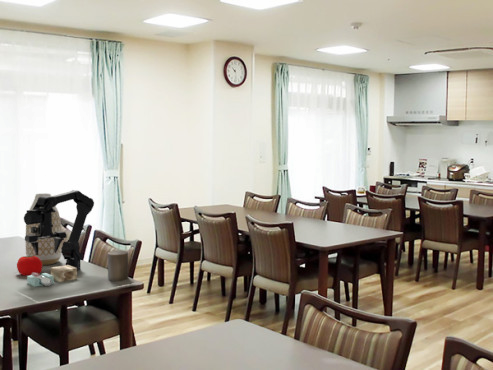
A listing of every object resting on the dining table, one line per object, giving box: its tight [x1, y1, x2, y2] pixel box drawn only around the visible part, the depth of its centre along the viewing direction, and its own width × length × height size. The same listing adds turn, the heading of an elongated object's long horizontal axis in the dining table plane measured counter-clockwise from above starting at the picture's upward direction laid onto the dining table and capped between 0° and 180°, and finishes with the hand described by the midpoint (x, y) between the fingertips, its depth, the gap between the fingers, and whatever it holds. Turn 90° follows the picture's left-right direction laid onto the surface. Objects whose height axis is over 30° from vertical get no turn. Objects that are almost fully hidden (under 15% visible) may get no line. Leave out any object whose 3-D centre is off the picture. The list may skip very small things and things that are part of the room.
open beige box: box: [50, 265, 78, 283], centre depth 264 cm, size 9×9×6 cm
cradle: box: [26, 272, 55, 288], centre depth 255 cm, size 9×8×4 cm
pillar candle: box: [107, 250, 129, 282], centre depth 265 cm, size 10×10×15 cm
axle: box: [31, 273, 52, 287], centre depth 255 cm, size 16×3×3 cm, turn 44°
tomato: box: [16, 255, 43, 277], centre depth 271 cm, size 11×13×10 cm
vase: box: [25, 193, 63, 266], centre depth 298 cm, size 19×18×38 cm
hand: (46, 253), depth 266 cm, fingers open, 9 cm apart
